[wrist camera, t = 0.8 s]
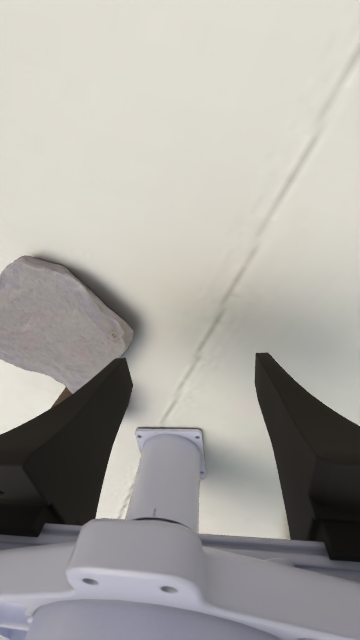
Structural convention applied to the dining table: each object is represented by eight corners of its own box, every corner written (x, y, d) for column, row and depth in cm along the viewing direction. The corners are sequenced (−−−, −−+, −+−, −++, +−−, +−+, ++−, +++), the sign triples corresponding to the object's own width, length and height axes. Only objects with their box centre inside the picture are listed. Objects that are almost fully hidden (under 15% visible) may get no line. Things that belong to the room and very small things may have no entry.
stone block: (36, 239, 21) (-4, 328, 24) (-1, 240, 16) (-45, 350, 19) (152, 308, 24) (105, 382, 26) (148, 326, 19) (91, 413, 22)
